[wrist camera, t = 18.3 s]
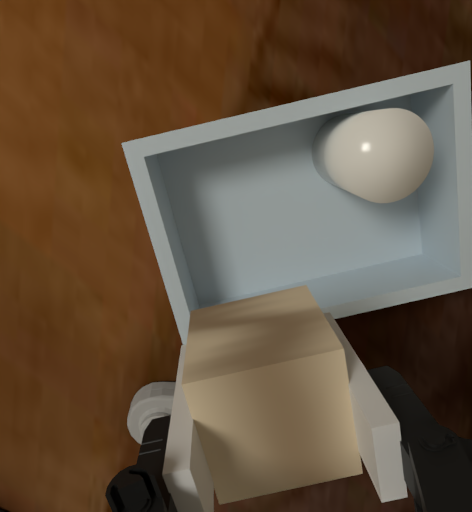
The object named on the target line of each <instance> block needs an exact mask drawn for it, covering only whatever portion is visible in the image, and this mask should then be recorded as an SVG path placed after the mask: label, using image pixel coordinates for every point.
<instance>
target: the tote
mask: <svg viewBox="0 0 472 512" xmlns="http://www.w3.org/2000/svg"><path fill="white" fill-rule="evenodd" d="M388 108H400V109H405V110H408V111H411V112H413V113H415V114H416V115H418V116H419V117H420V118H421V119H422V120H423V121H424V122H425V123H426V125H427V126H428V128H429V130H430V132H431V134H432V138H433V143H434V157H433V162H432V166H431V168H430V171H429V173H428V175H427V177H426V178H425V180H424V181H423V183H422V184H421V185H420V186H419V187H418V188H417V189H416V190H415V191H414V192H413V193H411V194H410V195H408V196H407V197H405V198H403V199H401V200H398V201H395V202H391V203H375V202H371V201H368V200H366V199H363V198H361V197H359V196H357V195H355V194H352V193H350V192H348V191H346V190H344V189H342V188H339V187H337V186H335V185H333V184H331V183H329V182H327V181H325V180H324V179H323V178H322V177H321V176H320V175H319V174H318V173H317V171H316V169H315V167H314V164H313V161H312V145H313V141H314V139H315V136H316V134H317V132H318V131H319V129H320V128H321V127H322V126H323V125H324V124H325V123H326V122H327V121H328V120H330V119H331V118H333V117H335V116H338V115H341V114H347V113H355V112H363V111H372V110H380V109H388ZM121 144H122V147H123V150H124V153H125V157H126V160H127V163H128V166H129V170H130V173H131V176H132V179H133V183H134V186H135V189H136V192H137V196H138V199H139V202H140V206H141V209H142V212H143V215H144V219H145V222H146V225H147V228H148V232H149V235H150V238H151V241H152V245H153V248H154V251H155V255H156V258H157V261H158V264H159V268H160V271H161V274H162V277H163V281H164V284H165V287H166V290H167V294H168V297H169V300H170V303H171V307H172V310H173V313H174V317H175V320H176V323H177V326H178V330H179V333H180V336H181V339H182V343H183V345H186V344H187V336H188V328H189V320H190V313H191V311H192V310H197V309H201V308H206V307H210V306H215V305H219V304H223V303H228V302H232V301H237V300H241V299H246V298H250V297H254V296H259V295H263V294H268V293H272V292H277V291H281V290H285V289H290V288H294V287H299V286H303V285H307V287H308V289H309V291H310V292H311V294H312V296H313V297H314V299H315V301H316V302H317V304H318V306H319V307H320V309H321V311H322V312H323V313H327V312H330V313H331V315H332V317H333V318H334V319H337V318H342V317H346V316H351V315H355V314H359V313H364V312H368V311H372V310H377V309H381V308H386V307H390V306H394V305H399V304H403V303H408V302H412V301H416V300H421V299H425V298H430V297H434V296H438V295H443V294H447V293H452V292H456V291H460V290H465V289H469V288H472V115H471V78H470V61H466V62H462V63H458V64H454V65H449V66H445V67H441V68H437V69H432V70H428V71H424V72H420V73H416V74H411V75H407V76H403V77H399V78H394V79H390V80H386V81H382V82H377V83H373V84H369V85H365V86H361V87H356V88H352V89H348V90H344V91H339V92H335V93H331V94H327V95H323V96H318V97H314V98H310V99H306V100H301V101H297V102H293V103H289V104H285V105H280V106H276V107H272V108H268V109H263V110H259V111H255V112H251V113H247V114H242V115H238V116H234V117H230V118H225V119H221V120H217V121H213V122H208V123H204V124H200V125H196V126H192V127H187V128H183V129H179V130H175V131H170V132H166V133H162V134H158V135H154V136H149V137H145V138H141V139H137V140H132V141H128V142H124V143H121Z"/></svg>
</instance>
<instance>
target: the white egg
mask: <svg viewBox="0 0 472 512" xmlns="http://www.w3.org/2000/svg"><path fill="white" fill-rule="evenodd" d="M433 157H434V143H433V138H432V134H431V132H430V130H429V128H428V126H427V125H426V123H425V122H424V121H423V120H422V119H421V118H420V117H419V116H418V115H416V114H415V113H413V112H411V111H408V110H405V109H400V108H388V109H380V110H372V111H363V112H355V113H347V114H341V115H338V116H335V117H333V118H331V119H330V120H328V121H327V122H326V123H325V124H324V125H323V126H322V127H321V128H320V129H319V131H318V132H317V134H316V136H315V139H314V141H313V145H312V161H313V164H314V167H315V169H316V171H317V173H318V174H319V175H320V176H321V177H322V178H323V179H324V180H325V181H327V182H329V183H331V184H333V185H335V186H337V187H339V188H342V189H344V190H346V191H348V192H350V193H352V194H355V195H357V196H359V197H361V198H363V199H366V200H368V201H371V202H375V203H391V202H395V201H398V200H401V199H403V198H405V197H407V196H408V195H410V194H411V193H413V192H414V191H415V190H416V189H417V188H418V187H419V186H420V185H421V184H422V183H423V181H424V180H425V178H426V177H427V175H428V173H429V171H430V168H431V166H432V162H433Z"/></svg>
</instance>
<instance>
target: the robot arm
mask: <svg viewBox="0 0 472 512" xmlns="http://www.w3.org/2000/svg"><path fill="white" fill-rule="evenodd" d="M323 314H324V316H325V317H326V319H327V321H328V323H329V324H330V326H331V328H332V329H333V331H334V333H335V334H336V336H337V338H338V339H339V341H340V343H341V344H342V346H343V348H344V352H345V359H346V366H347V372H348V379H349V384H348V387H349V393H350V400H351V406H352V413H353V419H354V425H355V432H356V438H357V445H358V451H359V453H360V455H361V457H362V460H363V462H364V464H365V466H366V469H367V471H368V473H369V475H370V478H371V480H372V482H373V484H374V486H375V489H376V491H377V493H378V495H379V498H380V500H381V502H387V501H392V500H396V499H401V498H405V497H408V496H407V487H406V484H407V486H408V488H409V490H410V492H411V493H412V495H413V497H414V504H415V512H472V440H471V439H464V438H461V437H458V436H457V435H456V434H455V433H454V432H452V431H451V430H450V429H448V428H446V427H443V426H441V425H439V424H438V423H437V422H436V420H435V419H434V418H433V417H432V415H431V414H430V413H429V411H428V410H427V409H426V407H425V406H424V405H423V403H422V402H421V401H420V399H419V398H418V397H417V396H416V394H415V393H414V392H413V390H412V389H411V388H410V386H409V385H407V382H406V381H405V380H404V378H403V377H402V376H401V374H400V373H399V372H397V371H395V370H394V369H392V368H390V367H389V366H383V367H379V368H374V369H370V370H366V369H365V367H364V366H363V364H362V362H361V361H360V359H359V358H358V356H357V354H356V353H355V351H354V350H353V348H352V347H351V345H350V343H349V342H348V340H347V339H346V337H345V336H344V334H343V332H342V331H341V329H340V328H339V326H338V324H337V323H336V321H335V320H334V318H333V317H332V315H331V313H330V312H327V313H323ZM185 352H186V345H182V346H181V352H180V359H179V365H178V372H177V379H176V385H175V392H174V399H173V406H172V412H171V415H169V416H164V417H160V418H155V419H152V420H151V422H150V423H149V425H148V426H147V428H146V429H145V431H144V434H143V438H142V443H141V444H142V445H141V447H140V451H139V456H138V460H137V464H136V465H133V466H129V467H127V468H126V469H124V470H122V471H120V472H119V473H118V474H117V475H116V476H115V477H114V478H113V479H112V480H111V482H110V484H109V485H108V487H107V490H106V495H105V496H106V498H107V500H108V503H109V505H110V507H111V509H112V512H214V482H213V479H212V476H211V473H210V470H209V467H208V463H207V460H206V457H205V454H204V451H203V448H202V445H201V442H200V438H199V435H198V432H197V429H196V426H195V423H194V420H193V419H192V416H191V413H190V410H189V407H188V404H187V401H186V398H185V394H184V391H183V388H182V385H181V384H182V376H183V368H184V360H185ZM0 512H4V511H2V510H0Z"/></svg>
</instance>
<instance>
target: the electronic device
mask: <svg viewBox="0 0 472 512" xmlns="http://www.w3.org/2000/svg"><path fill="white" fill-rule="evenodd" d="M175 385H176V382H153V383H151V384H148V385H146V386H144V387H142V388H141V389H140V390H139V391H138V392H137V393H136V394H135V396H134V398H133V400H132V402H131V406H130V410H129V414H128V418H127V426H128V429H129V432H130V434H131V436H132V437H133V438H134V439H135V440H136V441H137V442H138V443H140V444H141V443H142V438H143V434H144V431H145V429H146V428H147V426H148V425H149V423H150V422H151V420H152V419H155V418H160V417H164V416H169V415H171V412H172V406H173V399H174V392H175Z"/></svg>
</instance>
